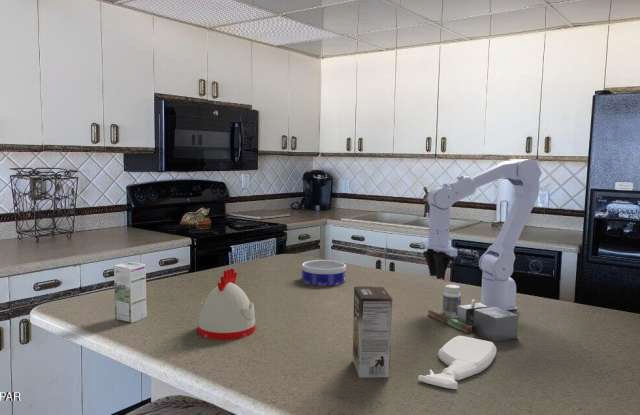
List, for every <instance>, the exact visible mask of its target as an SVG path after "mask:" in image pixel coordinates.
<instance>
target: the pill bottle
mask: <svg viewBox="0 0 640 415" xmlns="http://www.w3.org/2000/svg"><path fill="white" fill-rule="evenodd" d="M460 291H461V287H460V286H459V285H457V284H445V286H444V292H443V293H442V296H443V298H442V313H443V314H445V315H447V316H449V317H452V318H454V319H458V307H459V306H462V304H461V301H462V295H461V293H460Z"/></svg>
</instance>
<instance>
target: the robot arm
mask: <svg viewBox="0 0 640 415" xmlns="http://www.w3.org/2000/svg"><path fill="white" fill-rule="evenodd" d="M542 174H543V172H542V170H541V168H540V165H539V164H538V162H537V161H536V160H534V159H532V158H526V159H523V158H522V159H517V158H510V159H508V160H507V161H506V160H505V161H501V162H500V163H497V164H496V165H494V166H492V167H490V168H488V169H486V170H484V171H482V172H479V173H477V174H475V175H474V176H472V177H471V176H468V175H458V176H457V177H456V178H457V179H454V180H452V181H450V182H444V183H442V184H441V185H442V186H441V187H440V186H439V187H438V186H437V187H433V188H432V189H430V191H429V192H428V194H427V196H426V202H427V204H428V205H429V214H428V217H429V218H428V237H427V238H428V239H427V240H423V241H422V240H421V241H419V242H420V243H419V244H420V245H419V247H420V249H426V250H425V251H423V252H422V254H423V256H424V258H425V261H426V264H427V268H428V273H429V276H430V277H436V279H444V278H445V276H446V272H447V268H448V266H449V264H450V262H451V260H453V257H458V248H456V247H453V246H450V245H449V243H450V225H451V224H450V220H451V207H453V205H454V203H457V202H458V201H461V200H463V199H466V198H468V197H470V196H472V195H474V194H475V193H476V190H477V189H478V188H480V187H482V186H484V185H487V184H489V183H492V182H494V181H497V180H499V179H506V180H508V182H509V183H510V184H511V185H512V186H513V188H514V190H515V192H516V196H515V198H514V201H513V202H512V205H511V207H510V209H509V211H508V213H507V215H506V218H505V220H504V221H503V222H504V223H503V224H502V226H501V229H500V231H499V232H498V235H497V238H496V240H495V242H494V243H492V244H491V245H490V246H488V247H487V249H486V251H485V252H484V253H483V254H482V255H481V256H480V258H479V260H478V266H479V269H480V271H482V273H481V274H482V275H481V290H480V291H481V293H480V294H481V295H480V302H475V304H478V303H480V304H483V305H486V306H488V308H490V307H498V308H501V309H503V310H506V311H511V310H517V309H518V306H516V299H517V298H516V296H517V284H516V281H515V280H514V279H513V278H512V277H511V276H512V275H513V273H514V263H515V260H516V255H515V251H514V249H515V247H516V245H517V242H518V240H519V239H520V236H521V234H522V233H523V230H524V228H525V226H526V223H527V221H528V219H529V217H530V214H531V212H532V210H533V208H534V206H535V204H536V202H537V200H538V197H539V195H540V178H541V176H542Z"/></svg>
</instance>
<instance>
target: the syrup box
mask: <svg viewBox="0 0 640 415" xmlns="http://www.w3.org/2000/svg"><path fill="white" fill-rule="evenodd" d="M146 270H147V268H146V264H145V263H140V262H134V261H133V262H131V261H126V262H121V263H118V264H116V265H115V264H114V265H113V275H114V276H113V278H114V279H113V280H114V285H113V286H114V314H115V315H114V316H115V317H114V318H115V319H114V320H116V321H120V322H125V323H129V324H132V323H133V324H134V323H135V322H138V321H141V320H144V319H147V316H148V314H147V276H146V275H147V272H146Z"/></svg>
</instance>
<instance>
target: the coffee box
mask: <svg viewBox="0 0 640 415" xmlns="http://www.w3.org/2000/svg"><path fill="white" fill-rule="evenodd" d="M392 320H393V298H392V297H391V295H390V294H389V293H388V291H387V290H386V289H385V288H384V287H383V286H367V285H366V286H362V285H361V286H354V287H353V324H352V326H353V327H352V329H353V332H352V334H353V335H352V336H353V337H352V362H353V365H354V367H355V370H356V373H357V375H358V378H362V379H363V378H364V379H365V378H390V371H391V370H390V368H391V365H390V364H391V346H392V344H391V343H392V323H393V321H392Z"/></svg>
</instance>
